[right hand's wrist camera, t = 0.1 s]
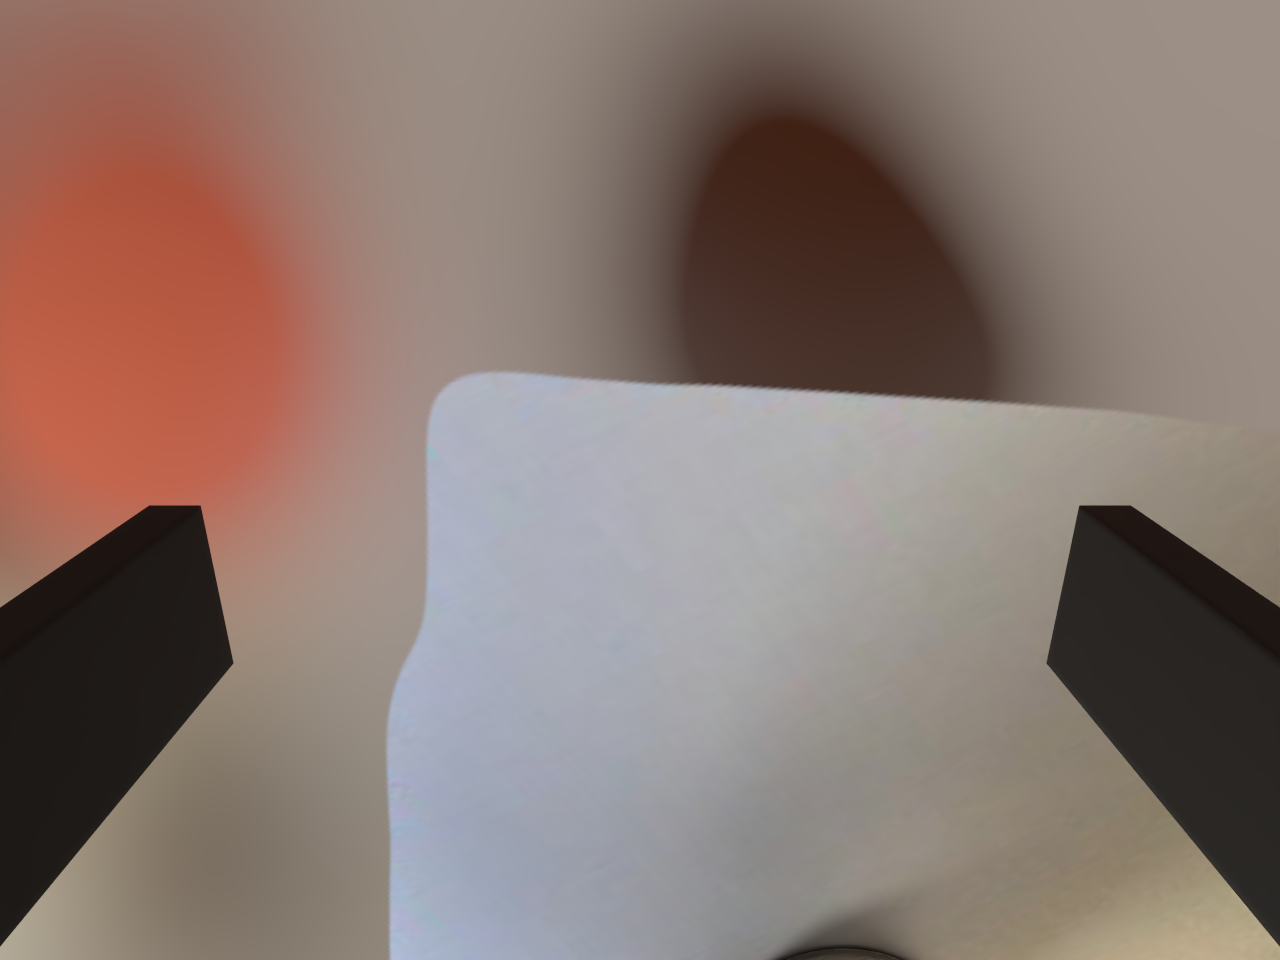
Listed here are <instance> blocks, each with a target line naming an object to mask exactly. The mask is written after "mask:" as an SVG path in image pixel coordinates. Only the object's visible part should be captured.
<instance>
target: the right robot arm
mask: <svg viewBox="0 0 1280 960" xmlns="http://www.w3.org/2000/svg"><path fill="white" fill-rule="evenodd" d="M232 664H233V659H232V654H231V650H230V645H229V640H228V635H227V630H226V625H225V621H224V616H223V611H222V606H221V601H220V596H219V592H218V587H217V582H216V577H215V572H214V568H213V563H212V558H211V553H210V548H209V544H208V539H207V534H206V529H205V524H204V520H203V515H202V510H201V506H148V507H146V508H145V509H144V510H142V511H141V512H139V513H138V514H136V515H135V516H133V517H132V518H130V519H129V520H127V521H126V522H125V523H123V524H122V525H120V526H119V527H117V528H116V529H114V530H113V531H112V532H110V533H109V534H107V535H106V536H104V537H103V538H101V539H100V540H98V541H97V542H95V543H94V544H92V545H91V546H90V547H88V548H87V549H85V550H84V551H82V552H81V553H79V554H78V555H76V556H75V557H73V558H72V559H71V560H69V561H68V562H66V563H65V564H63V565H62V566H60V567H59V568H57V569H56V570H54V571H53V572H52V573H50V574H49V575H47V576H46V577H44V578H43V579H41V580H40V581H38V582H37V583H35V584H34V585H33V586H31V587H30V588H28V589H27V590H25V591H24V592H22V593H21V594H19V595H18V596H16V597H15V598H14V599H12V600H11V601H9V602H8V603H6V604H5V605H3V606H2V607H0V946H1V945H2V944H3V942H4V941H5V940H6V939H7V938H8V936H9V935H10V934H11V933H12V931H13V930H14V929H15V928H16V926H17V925H18V924H19V923H20V922H21V921H22V919H23V918H24V917H25V916H26V914H27V913H28V912H29V911H30V910H31V908H32V907H33V906H34V905H35V903H36V902H37V901H38V900H39V899H40V897H41V896H42V895H43V894H44V893H45V891H46V890H47V889H48V888H49V886H50V885H51V884H52V883H53V882H54V880H55V879H56V878H57V877H58V876H59V874H60V873H61V872H62V871H63V870H64V868H65V867H66V866H67V865H68V863H69V862H70V861H71V860H72V859H73V857H74V856H75V855H76V854H77V853H78V851H79V850H80V849H81V848H82V846H83V845H84V844H85V843H86V842H87V840H88V839H89V838H90V837H91V836H92V834H93V833H94V832H95V831H96V829H97V828H98V827H99V826H100V825H101V823H102V822H103V821H104V820H105V819H106V817H107V816H108V815H109V814H110V812H111V811H112V810H113V809H114V808H115V806H116V805H117V804H118V803H119V801H120V800H121V799H122V798H123V797H124V795H125V794H126V793H127V792H128V791H129V789H130V788H131V787H132V786H133V785H134V783H135V782H136V781H137V780H138V778H139V777H140V776H141V775H142V774H143V772H144V771H145V770H146V769H147V768H148V766H149V765H150V764H151V763H152V761H153V760H154V759H155V758H156V757H157V755H158V754H159V753H160V752H161V751H162V749H163V748H164V747H165V746H166V745H167V743H168V742H169V741H170V740H171V738H172V737H173V736H174V735H175V734H176V732H177V731H178V730H179V729H180V727H181V726H182V725H183V724H184V723H185V721H186V720H187V719H188V718H189V716H190V715H191V714H192V713H193V712H194V711H195V709H196V708H197V707H198V706H199V704H200V703H201V702H202V701H203V700H204V698H205V697H206V696H207V695H208V694H209V692H210V691H211V690H212V689H213V687H214V686H215V685H216V684H217V683H218V681H219V680H220V679H221V678H222V677H223V675H224V674H225V673H226V672H227V670H228V669H229V668H230V667H231V666H232ZM1047 664H1048V666H1049V667H1050V668H1051V669H1052V670H1053V672H1054V673H1055V674H1056V675H1057V677H1058V678H1059V679H1060V680H1061V681H1062V683H1063V684H1064V685H1065V686H1066V687H1067V689H1068V690H1069V691H1070V692H1071V694H1072V695H1073V696H1074V697H1075V698H1076V700H1077V701H1078V702H1079V703H1080V704H1081V706H1082V707H1083V708H1084V709H1085V711H1086V712H1087V713H1088V714H1089V715H1090V717H1091V718H1092V719H1093V720H1094V721H1095V723H1096V724H1097V725H1098V726H1099V728H1100V729H1101V730H1102V731H1103V732H1104V734H1105V735H1106V736H1107V737H1108V738H1109V740H1110V741H1111V742H1112V743H1113V745H1114V746H1115V747H1116V748H1117V749H1118V751H1119V752H1120V753H1121V754H1122V755H1123V757H1124V758H1125V759H1126V760H1127V761H1128V763H1129V764H1130V765H1131V766H1132V768H1133V769H1134V770H1135V771H1136V772H1137V774H1138V775H1139V776H1140V777H1141V778H1142V780H1143V781H1144V782H1145V783H1146V785H1147V786H1148V787H1149V788H1150V789H1151V791H1152V792H1153V793H1154V794H1155V795H1156V797H1157V798H1158V799H1159V800H1160V802H1161V803H1162V804H1163V805H1164V806H1165V808H1166V809H1167V810H1168V811H1169V812H1170V814H1171V815H1172V816H1173V817H1174V819H1175V820H1176V821H1177V822H1178V823H1179V825H1180V826H1181V827H1182V828H1183V829H1184V831H1185V832H1186V833H1187V834H1188V836H1189V837H1190V838H1191V839H1192V840H1193V842H1194V843H1195V844H1196V845H1197V846H1198V848H1199V849H1200V850H1201V851H1202V853H1203V854H1204V855H1205V856H1206V857H1207V859H1208V860H1209V861H1210V862H1211V863H1212V865H1213V866H1214V867H1215V868H1216V870H1217V871H1218V872H1219V873H1220V874H1221V876H1222V877H1223V878H1224V879H1225V880H1226V882H1227V883H1228V884H1229V885H1230V887H1231V888H1232V889H1233V890H1234V891H1235V893H1236V894H1237V895H1238V896H1239V897H1240V899H1241V900H1242V901H1243V902H1244V904H1245V905H1246V906H1247V907H1248V908H1249V910H1250V911H1251V912H1252V913H1253V914H1254V916H1255V917H1256V918H1257V919H1258V921H1259V922H1260V923H1261V924H1262V925H1263V927H1264V928H1265V929H1266V930H1267V931H1268V933H1269V934H1270V935H1271V936H1272V938H1273V939H1274V940H1275V941H1276V942H1277V944H1278V945H1279V946H1280V607H1278V606H1277V605H1275V604H1274V603H1272V602H1271V601H1269V600H1268V599H1266V598H1265V597H1264V596H1262V595H1261V594H1259V593H1258V592H1256V591H1255V590H1253V589H1252V588H1250V587H1249V586H1247V585H1246V584H1245V583H1243V582H1242V581H1240V580H1239V579H1237V578H1236V577H1234V576H1233V575H1231V574H1230V573H1228V572H1227V571H1226V570H1224V569H1223V568H1221V567H1220V566H1218V565H1217V564H1215V563H1214V562H1212V561H1211V560H1209V559H1208V558H1207V557H1205V556H1204V555H1202V554H1201V553H1199V552H1198V551H1196V550H1195V549H1193V548H1192V547H1190V546H1189V545H1188V544H1186V543H1185V542H1183V541H1182V540H1180V539H1179V538H1177V537H1176V536H1174V535H1173V534H1171V533H1170V532H1169V531H1167V530H1166V529H1164V528H1163V527H1161V526H1160V525H1158V524H1157V523H1155V522H1154V521H1153V520H1151V519H1150V518H1148V517H1147V516H1145V515H1144V514H1142V513H1141V512H1139V511H1138V510H1136V509H1135V508H1134V507H1132V506H1079V510H1078V515H1077V520H1076V524H1075V529H1074V534H1073V539H1072V544H1071V548H1070V553H1069V558H1068V563H1067V568H1066V572H1065V577H1064V582H1063V587H1062V592H1061V596H1060V601H1059V606H1058V611H1057V616H1056V620H1055V625H1054V630H1053V635H1052V640H1051V645H1050V649H1049V654H1048V659H1047ZM786 960H900V959H898V958H895V957H892V956H889V955H886V954H883V953H879V952H874V951H869V950H861V949H845V948H843V949H827V950H819V951H813V952H808V953H805V954H801V955H797V956H794V957H791V958H788V959H786Z"/></svg>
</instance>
